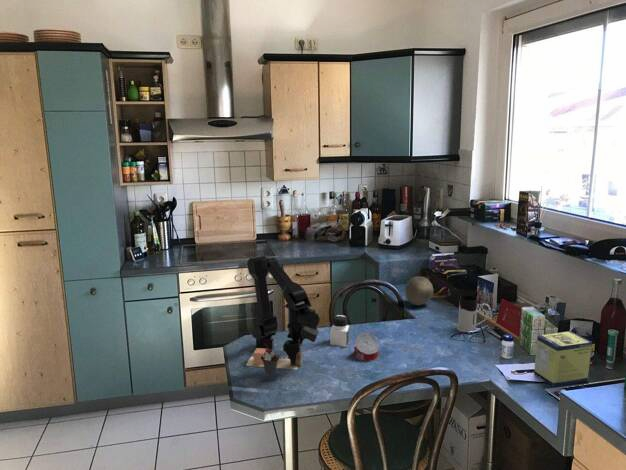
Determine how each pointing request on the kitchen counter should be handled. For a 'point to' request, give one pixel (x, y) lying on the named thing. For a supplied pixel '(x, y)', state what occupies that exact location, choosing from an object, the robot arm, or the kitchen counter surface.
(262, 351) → the block
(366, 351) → the canned food
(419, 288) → the cantaloupe
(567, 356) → the protein box
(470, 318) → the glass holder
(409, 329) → the kitchen counter surface
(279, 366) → the strip
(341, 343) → the medicine bottle
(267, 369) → the sundae
